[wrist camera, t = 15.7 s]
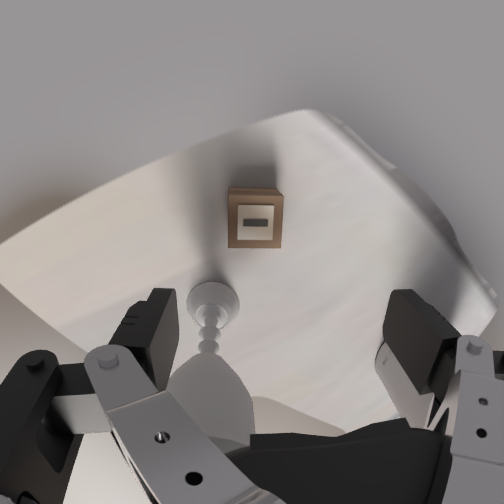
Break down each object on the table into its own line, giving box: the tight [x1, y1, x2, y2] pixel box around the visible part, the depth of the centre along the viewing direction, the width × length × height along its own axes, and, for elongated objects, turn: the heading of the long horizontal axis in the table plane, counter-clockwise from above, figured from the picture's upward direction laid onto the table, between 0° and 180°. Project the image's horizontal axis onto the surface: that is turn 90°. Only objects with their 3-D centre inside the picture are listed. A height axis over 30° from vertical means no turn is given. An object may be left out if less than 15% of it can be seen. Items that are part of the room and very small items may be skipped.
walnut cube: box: [228, 188, 284, 248], centre depth 25 cm, size 4×4×4 cm
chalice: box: [166, 282, 255, 454], centre depth 21 cm, size 7×7×18 cm
